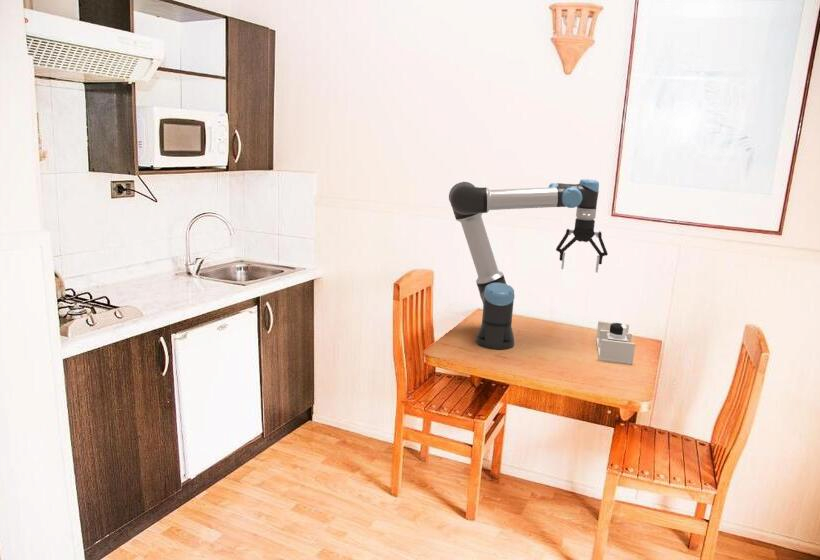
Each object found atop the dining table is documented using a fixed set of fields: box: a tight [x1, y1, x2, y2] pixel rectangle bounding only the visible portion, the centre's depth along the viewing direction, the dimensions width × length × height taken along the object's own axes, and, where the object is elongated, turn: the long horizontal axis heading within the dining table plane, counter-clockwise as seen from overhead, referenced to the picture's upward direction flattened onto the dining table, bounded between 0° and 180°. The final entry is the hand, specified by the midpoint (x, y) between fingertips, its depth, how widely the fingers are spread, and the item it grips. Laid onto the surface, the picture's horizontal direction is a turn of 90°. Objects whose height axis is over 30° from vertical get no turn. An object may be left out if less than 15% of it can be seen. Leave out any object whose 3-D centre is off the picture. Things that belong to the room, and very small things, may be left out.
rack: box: [595, 320, 636, 365], centre depth 245 cm, size 12×25×8 cm, turn 166°
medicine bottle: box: [606, 322, 628, 342], centre depth 239 cm, size 7×7×12 cm
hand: (579, 270), depth 254 cm, fingers open, 13 cm apart
